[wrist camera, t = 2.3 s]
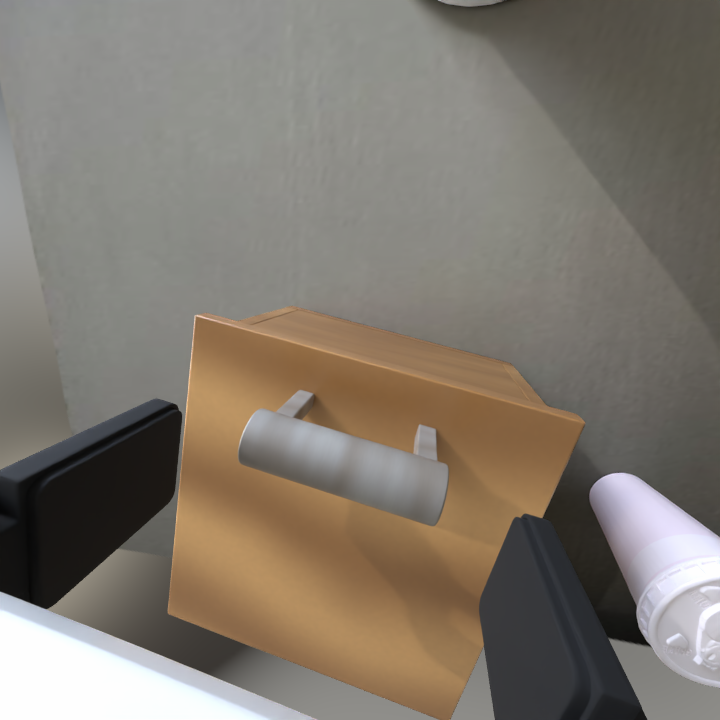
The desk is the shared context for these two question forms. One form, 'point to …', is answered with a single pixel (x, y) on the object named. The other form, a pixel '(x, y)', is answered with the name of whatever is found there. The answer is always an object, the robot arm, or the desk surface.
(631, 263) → the desk surface
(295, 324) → the box
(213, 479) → the box lid
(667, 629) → the smoothie
